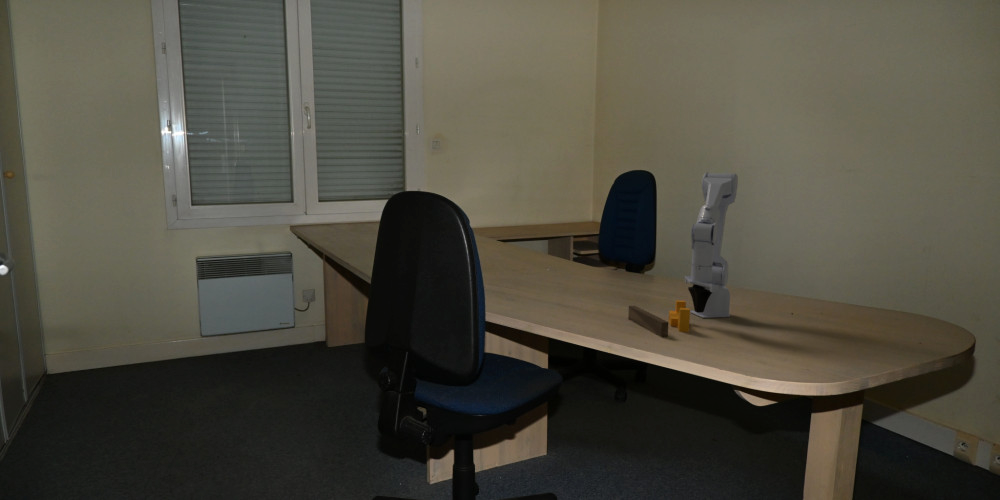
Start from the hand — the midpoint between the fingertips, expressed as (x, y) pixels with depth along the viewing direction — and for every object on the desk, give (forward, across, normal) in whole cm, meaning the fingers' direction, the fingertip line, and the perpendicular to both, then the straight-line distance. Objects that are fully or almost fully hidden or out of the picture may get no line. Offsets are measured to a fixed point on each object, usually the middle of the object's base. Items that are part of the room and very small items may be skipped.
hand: (699, 311), depth 191 cm
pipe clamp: (+4, 0, -6) cm, 8 cm away
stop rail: (+4, -1, -16) cm, 16 cm away
